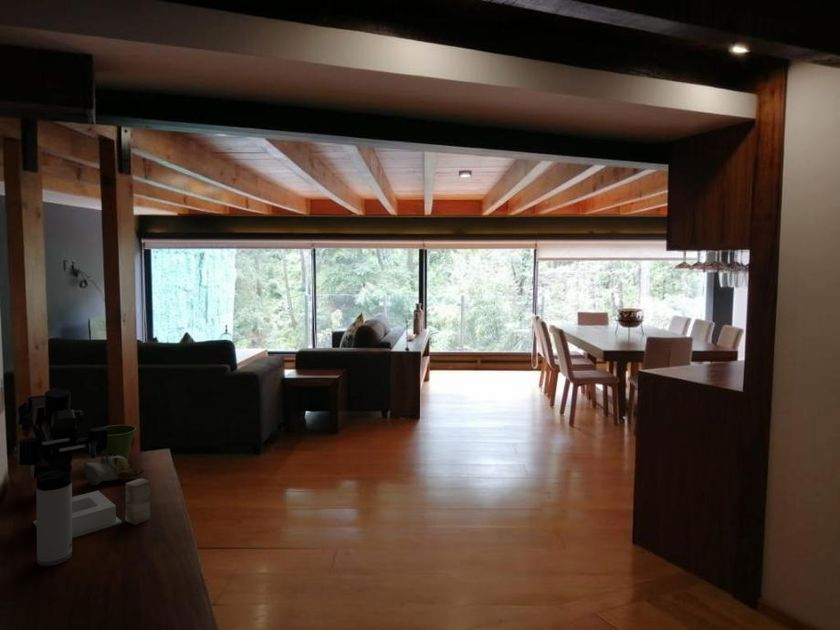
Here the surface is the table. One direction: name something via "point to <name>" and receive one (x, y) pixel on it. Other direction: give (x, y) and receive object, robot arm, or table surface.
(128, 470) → the ceramic sculpture
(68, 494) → the travel mug
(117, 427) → the plant pot
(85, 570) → the table surface
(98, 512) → the socket block
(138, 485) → the birch peg
